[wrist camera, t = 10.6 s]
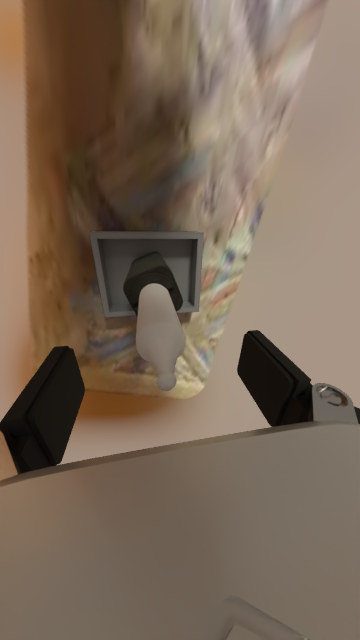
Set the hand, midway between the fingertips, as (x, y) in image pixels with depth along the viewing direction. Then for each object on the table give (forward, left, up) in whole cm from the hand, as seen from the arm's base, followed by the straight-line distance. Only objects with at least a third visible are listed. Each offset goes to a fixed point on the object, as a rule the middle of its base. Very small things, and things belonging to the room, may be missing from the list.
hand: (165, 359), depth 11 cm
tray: (0, 0, -23) cm, 23 cm away
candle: (0, 0, -23) cm, 23 cm away
